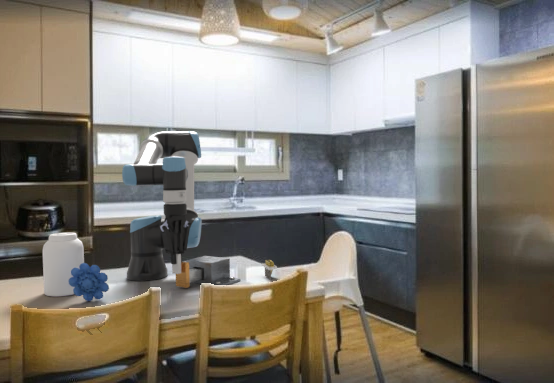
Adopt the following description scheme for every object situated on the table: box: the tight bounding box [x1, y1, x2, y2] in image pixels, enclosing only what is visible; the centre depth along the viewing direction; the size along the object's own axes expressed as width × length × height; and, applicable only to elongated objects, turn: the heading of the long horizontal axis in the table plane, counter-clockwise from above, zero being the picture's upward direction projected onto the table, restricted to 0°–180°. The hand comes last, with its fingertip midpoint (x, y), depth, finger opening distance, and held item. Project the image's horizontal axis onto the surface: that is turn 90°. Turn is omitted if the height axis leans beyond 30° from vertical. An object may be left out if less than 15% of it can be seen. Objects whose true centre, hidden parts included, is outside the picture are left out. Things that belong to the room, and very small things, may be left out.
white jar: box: [42, 232, 85, 298], centre depth 149 cm, size 12×12×20 cm
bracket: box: [185, 255, 241, 286], centre depth 162 cm, size 20×12×8 cm, turn 57°
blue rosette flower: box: [68, 262, 110, 302], centre depth 137 cm, size 12×7×12 cm, turn 104°
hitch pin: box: [175, 260, 204, 289], centre depth 157 cm, size 5×16×8 cm, turn 147°
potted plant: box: [261, 259, 278, 281], centre depth 166 cm, size 12×18×7 cm, turn 16°
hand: (176, 273), depth 149 cm, fingers closed
